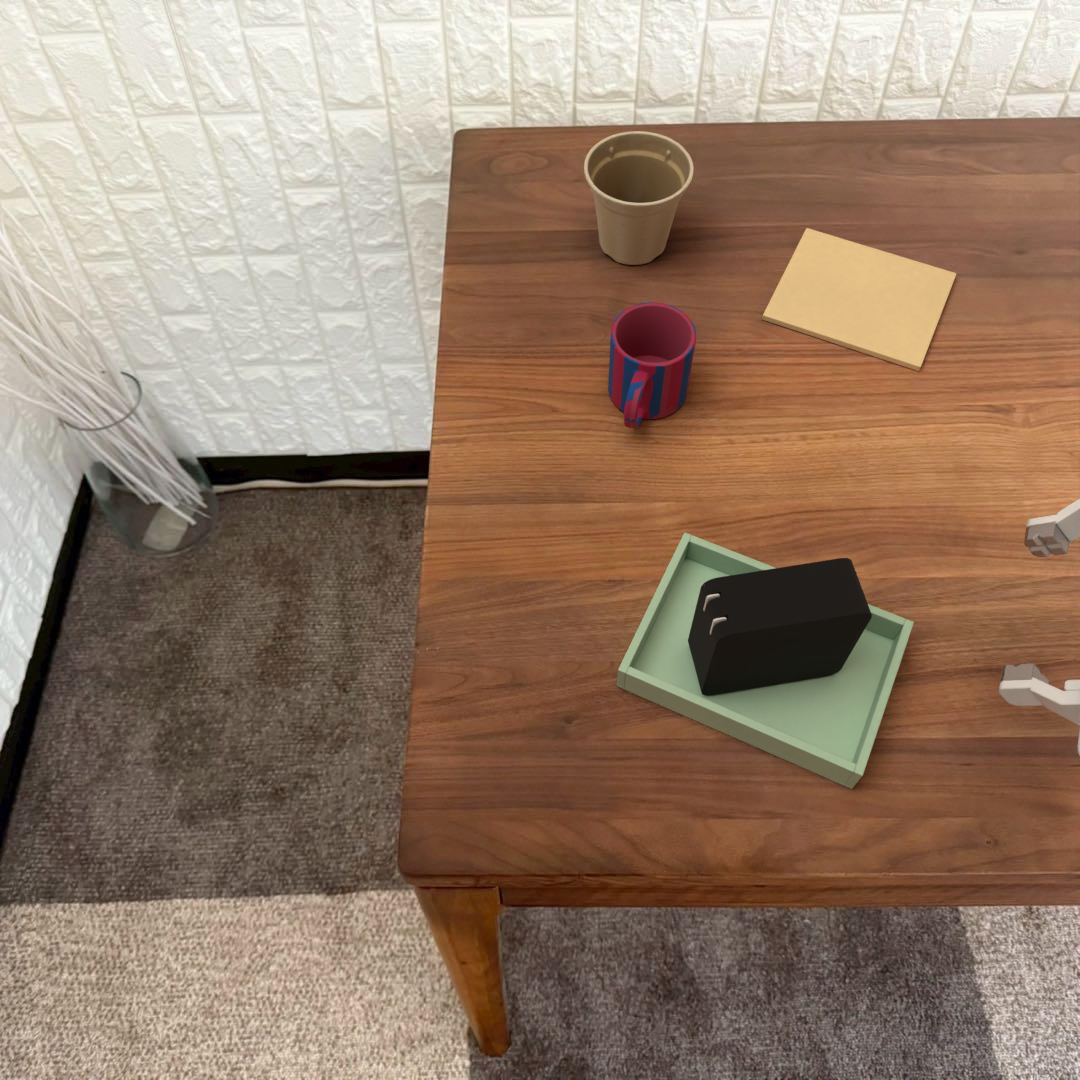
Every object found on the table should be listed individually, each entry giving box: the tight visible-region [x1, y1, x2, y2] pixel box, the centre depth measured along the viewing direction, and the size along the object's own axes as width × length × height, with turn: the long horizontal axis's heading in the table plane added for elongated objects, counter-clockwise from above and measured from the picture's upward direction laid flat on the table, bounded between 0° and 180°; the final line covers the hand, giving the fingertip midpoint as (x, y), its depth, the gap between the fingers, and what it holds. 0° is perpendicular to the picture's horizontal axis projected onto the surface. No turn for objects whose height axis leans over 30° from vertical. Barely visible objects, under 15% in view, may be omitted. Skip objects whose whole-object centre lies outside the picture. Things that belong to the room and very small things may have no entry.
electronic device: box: [688, 557, 872, 696], centre depth 68 cm, size 4×10×10 cm, turn 99°
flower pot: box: [583, 130, 695, 266], centre depth 90 cm, size 9×9×9 cm
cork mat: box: [761, 227, 957, 372], centre depth 90 cm, size 14×12×1 cm
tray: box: [615, 532, 915, 790], centre depth 71 cm, size 17×12×3 cm
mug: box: [607, 301, 697, 429], centre depth 82 cm, size 7×10×7 cm
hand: (1017, 609), depth 55 cm, fingers open, 8 cm apart
